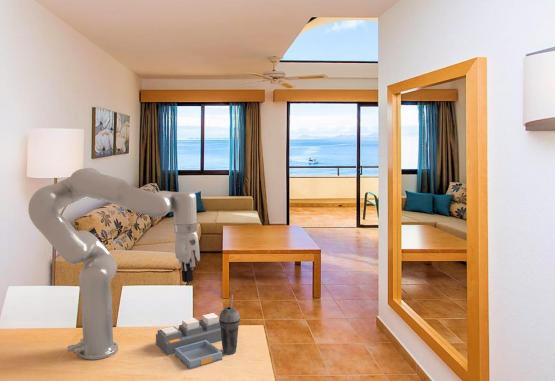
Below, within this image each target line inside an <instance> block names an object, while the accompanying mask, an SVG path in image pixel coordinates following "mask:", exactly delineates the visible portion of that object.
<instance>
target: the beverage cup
mask: <svg viewBox="0 0 555 381" xmlns="http://www.w3.org/2000/svg"><path fill="white" fill-rule="evenodd" d="M230 297H231V298H230V306H227V307H225V308H223V309H222V310H221V312H220V313H219V323H220V326H221V338H222V341H221V348H222V354H224V355H229V356H231V355H234V354H236V352H237V346H238V338H239V337H238V335H239V326H240V322H241V316H240V313H239V311H238V310H237V309H236V308H235V307H233V301H234V300H233V299H234V294H232V293H231V296H230Z"/></svg>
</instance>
